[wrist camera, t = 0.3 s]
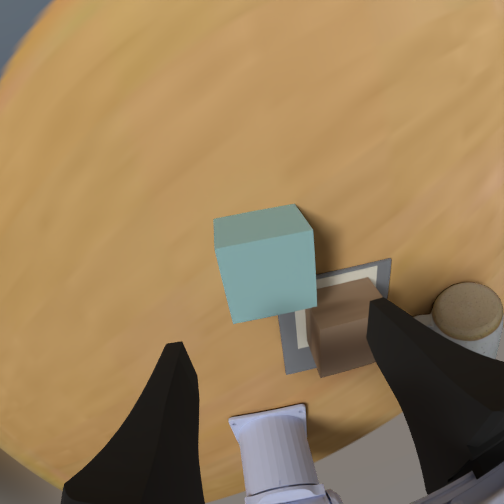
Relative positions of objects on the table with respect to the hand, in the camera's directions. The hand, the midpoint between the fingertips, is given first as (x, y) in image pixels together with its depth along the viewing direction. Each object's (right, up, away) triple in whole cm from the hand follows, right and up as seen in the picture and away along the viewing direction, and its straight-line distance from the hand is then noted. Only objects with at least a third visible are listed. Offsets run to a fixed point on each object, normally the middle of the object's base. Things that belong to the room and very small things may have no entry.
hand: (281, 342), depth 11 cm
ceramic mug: (+17, -3, +15) cm, 23 cm away
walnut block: (+5, -1, +12) cm, 13 cm away
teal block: (-1, +4, +9) cm, 10 cm away
